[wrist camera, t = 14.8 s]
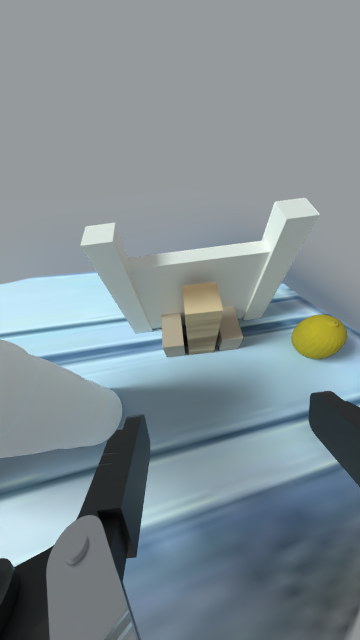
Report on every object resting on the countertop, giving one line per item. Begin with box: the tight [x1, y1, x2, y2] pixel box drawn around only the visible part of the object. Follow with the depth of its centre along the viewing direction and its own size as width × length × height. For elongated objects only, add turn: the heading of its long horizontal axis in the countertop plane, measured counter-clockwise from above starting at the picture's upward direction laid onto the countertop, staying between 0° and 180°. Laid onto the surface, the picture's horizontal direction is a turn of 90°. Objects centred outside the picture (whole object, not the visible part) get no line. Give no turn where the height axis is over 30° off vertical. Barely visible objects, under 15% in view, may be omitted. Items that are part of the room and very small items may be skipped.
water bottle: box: [0, 340, 122, 458], centre depth 15 cm, size 7×7×25 cm
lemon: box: [292, 315, 347, 359], centre depth 25 cm, size 6×6×8 cm
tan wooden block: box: [182, 282, 223, 355], centre depth 26 cm, size 5×4×12 cm
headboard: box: [81, 198, 320, 357], centre depth 24 cm, size 8×22×18 cm, turn 96°
